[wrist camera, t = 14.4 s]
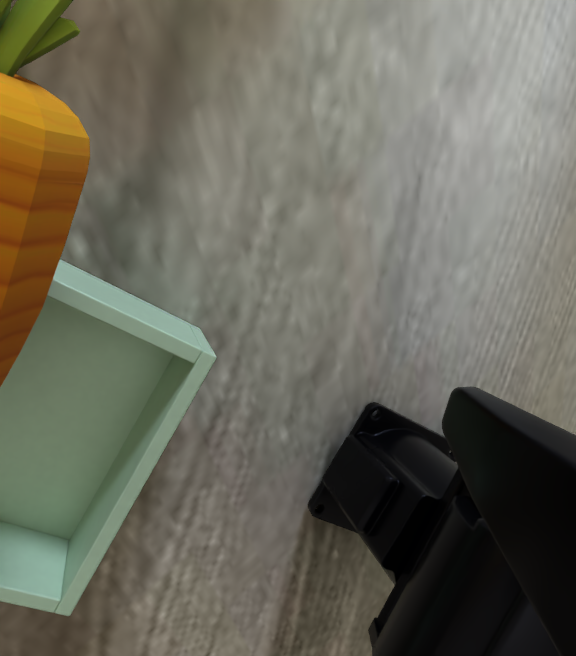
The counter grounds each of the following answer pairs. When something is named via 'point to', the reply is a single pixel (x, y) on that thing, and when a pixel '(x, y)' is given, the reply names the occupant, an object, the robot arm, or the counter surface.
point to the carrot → (33, 169)
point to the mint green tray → (85, 430)
